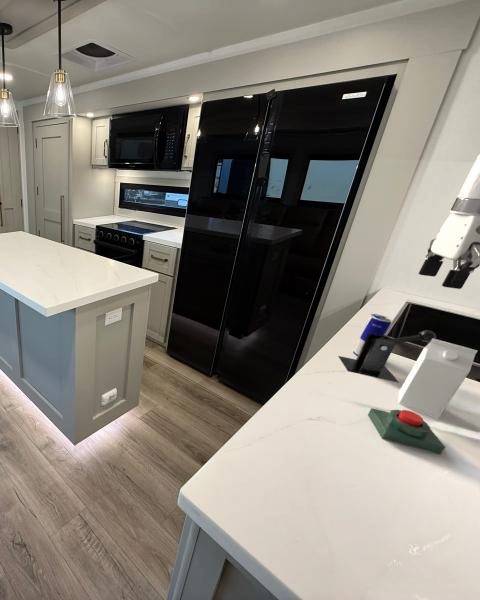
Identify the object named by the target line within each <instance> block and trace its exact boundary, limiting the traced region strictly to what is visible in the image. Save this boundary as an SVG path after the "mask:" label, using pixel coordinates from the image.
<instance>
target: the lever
mask: <svg viewBox="0 0 480 600" xmlns="http://www.w3.org/2000/svg"><path fill="white" fill-rule="evenodd" d="M375 339H380V340H385V341H390V342H394V343H395V344H400V343H407V342H416V341H422V342H423V343H424V342H425V343H430V342H431V340H432V339H437V335H436V333H434V331H431V330H428V329H427V330H425V329H424V330H422V331H420V332H419V333H418V334H416V335H415V334H414V335H409V336H403V337H395V338H388V340H386V339H385V338H384V337H380V338H374V339H371V342H372V344H373V342H374V340H375Z"/></svg>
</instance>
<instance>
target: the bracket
mask: <svg viewBox="0 0 480 600" xmlns="http://www.w3.org/2000/svg"><path fill="white" fill-rule="evenodd" d="M380 337H384V338H385V339H386V340H388V339H390V337H389V336H388V335H380V334H375V333H369V334H368V336H367V338H366V340H365V342H364V344H363V346H362V348H361V351H360V353H359V355H358V356H356V359H355V358H351V357H346V356H340V355H338V356H337V357H338V359H339V360H340V362H341V363H342V365H343V366H344V368H345V369H346V371H347V372H350V373H353V374H359V375H363V376H367V377H372V378H375V379H376V378H377V379H380V380H386V381H390V382H394V383H397V384H398V383H399V384H400V381H399V380H398V379H397V378H396V377H395V376H394V374H393V373H392V372H391V371H390V370H389V368H387V366H386V363H387V361H388V360H389V357H390V356H391V354H392V352H393V350H394V348H395V346H396V343H394V342H390V341H385V340H380V339H375V340H374V342H373V344H372V342H371V339H374V338H380Z"/></svg>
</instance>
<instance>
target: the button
mask: <svg viewBox="0 0 480 600" xmlns="http://www.w3.org/2000/svg"><path fill="white" fill-rule="evenodd" d="M398 418H399V419H400V420H401V421H402V422H404V423H406V424H408V425H410V426H413V427H417V428H418V427H420V425H421V424H422V422H423V421H424V418H423V417H422V416H421V415H419V414H418V413H416V412H414V411H411V410H407V409H402V410H401V412H400V414H399V416H398Z"/></svg>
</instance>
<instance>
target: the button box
mask: <svg viewBox="0 0 480 600" xmlns="http://www.w3.org/2000/svg"><path fill="white" fill-rule="evenodd" d="M401 411H402V410H401V409H391V410H389V412H388V411H385V410H382V409H381V410H380V409H377V408H374V407H373V408H372V407H371V408H370V410H369V411H368V413H367V416H368V418H369V419H370V421H371V423H372V424H373V426H374V428H375V429H376V431H377V433H378V434H379V436H380V437H381V439H383V440H386V441H390V442H393V443H397V444H401V445H403V446H404V445H405V446H408V447H411V448H415V449H418V450H423V451H426V452H429V453H433V454H436V455H441V454H442V453H443V452H444V450H445V449H446V446H445V445H444V444H443V442H442V441H441V440H440V439H439V437H437V434H435V433H434V431H433V430H432V429H431V427H430V425H429V424H428V423H427V422H426V421H425V420H423V422H422V424H421V425H420V427H418V428H417V427H413V426H410V425H408V424H406V423H404V422H402V421H401V420H400V419H399V418H398V416H399V414H400V412H401Z"/></svg>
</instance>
